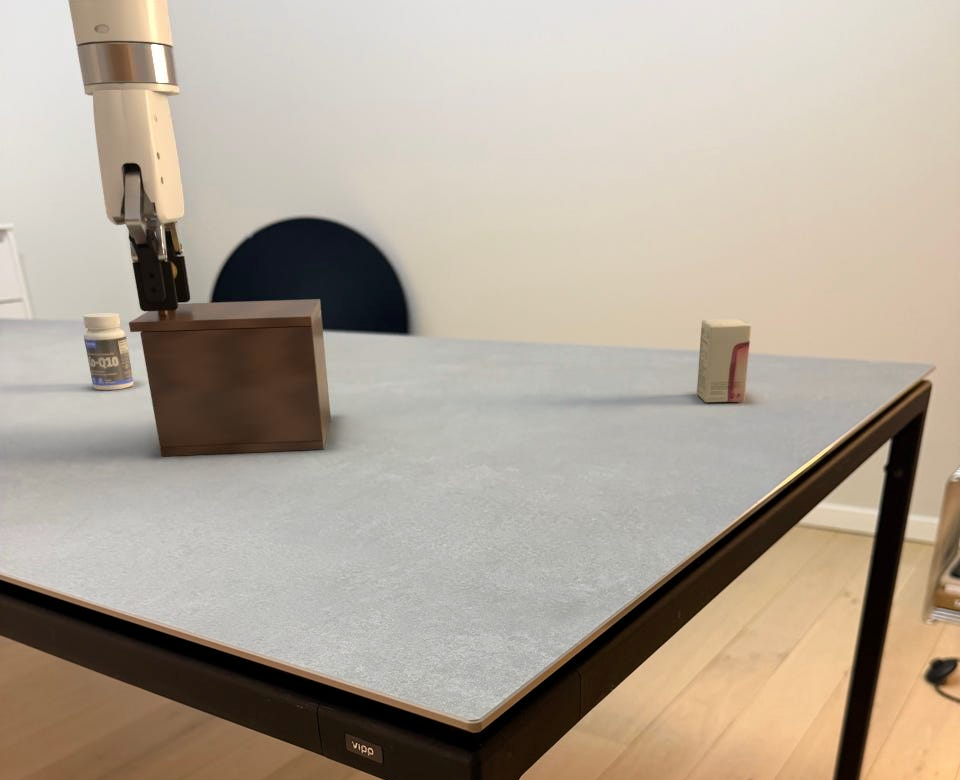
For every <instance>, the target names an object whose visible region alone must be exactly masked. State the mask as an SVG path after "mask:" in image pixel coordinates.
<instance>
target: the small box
mask: <svg viewBox="0 0 960 780" xmlns="http://www.w3.org/2000/svg"><path fill="white" fill-rule="evenodd" d="M700 325H701V327H700V340H699V353H698V354H699V355H698V357H699V358H698V367H697V368H698V371H697V381H696V382H697V383H696V394H697V395H698V397H699V398H701V400H702V401H704V402H705V403H723V402H724V403H727V402H728V403H729V402H730V403H743V402H745V399H746V388H747V376H748V367H749V366H748V365H749V357H750V356H749V355H750V344H751V343H750V342H751V332H752V325H751V324H749V323H748V322H746V321H744V320H742V319H733V318H731V319H728V318H727V319H703V320H701V324H700Z"/></svg>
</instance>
